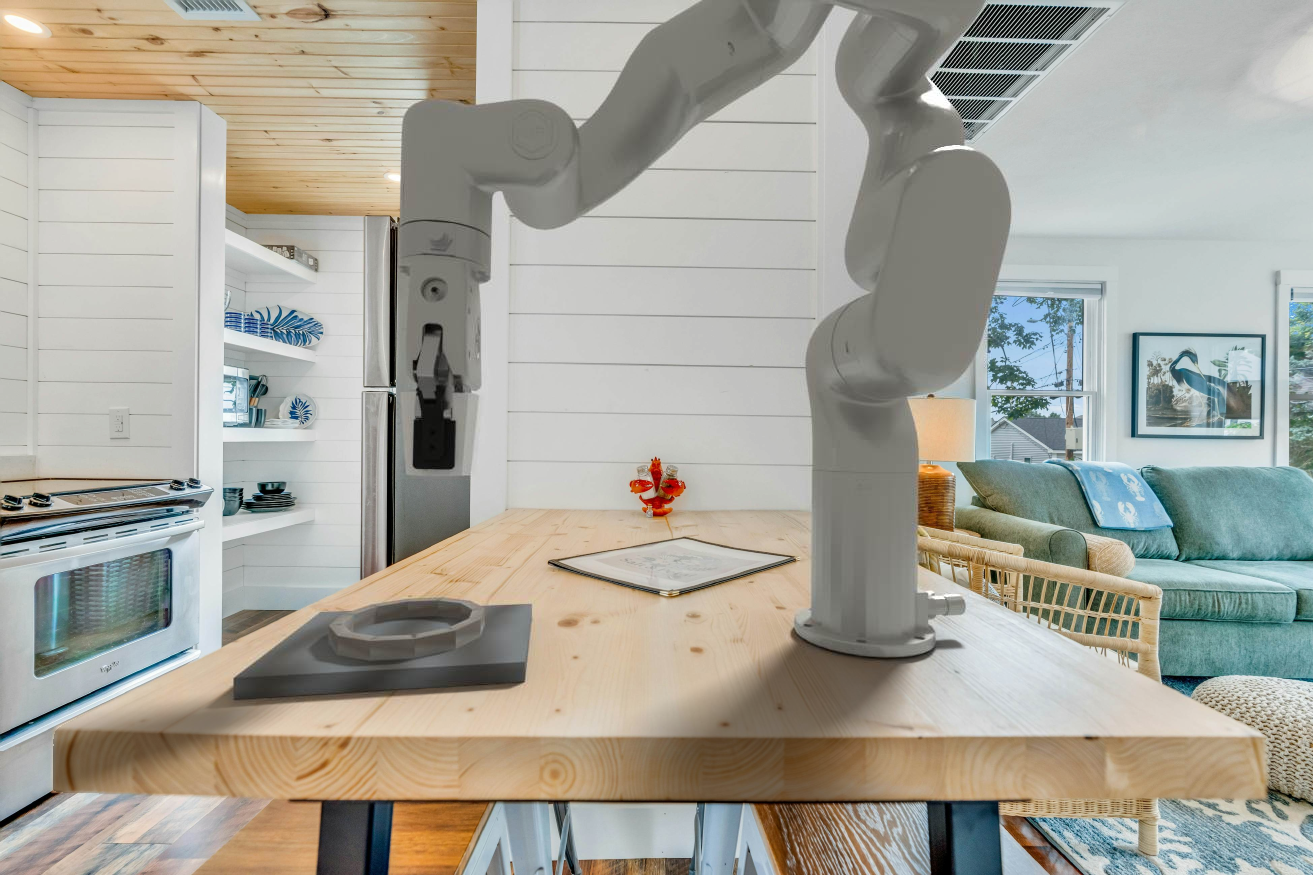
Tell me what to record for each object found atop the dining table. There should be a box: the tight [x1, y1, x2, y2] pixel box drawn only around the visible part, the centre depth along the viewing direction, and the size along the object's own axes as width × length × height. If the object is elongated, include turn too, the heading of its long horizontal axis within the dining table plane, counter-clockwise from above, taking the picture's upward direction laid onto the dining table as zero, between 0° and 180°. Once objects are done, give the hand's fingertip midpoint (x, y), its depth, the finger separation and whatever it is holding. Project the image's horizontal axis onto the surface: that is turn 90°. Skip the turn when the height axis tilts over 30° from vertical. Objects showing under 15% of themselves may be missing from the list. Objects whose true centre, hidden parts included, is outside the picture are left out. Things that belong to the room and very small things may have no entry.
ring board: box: [232, 596, 533, 700], centre depth 52 cm, size 20×16×3 cm
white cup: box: [399, 389, 485, 477], centre depth 52 cm, size 7×7×7 cm
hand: (441, 465), depth 52 cm, fingers closed on white cup, 5 cm apart
